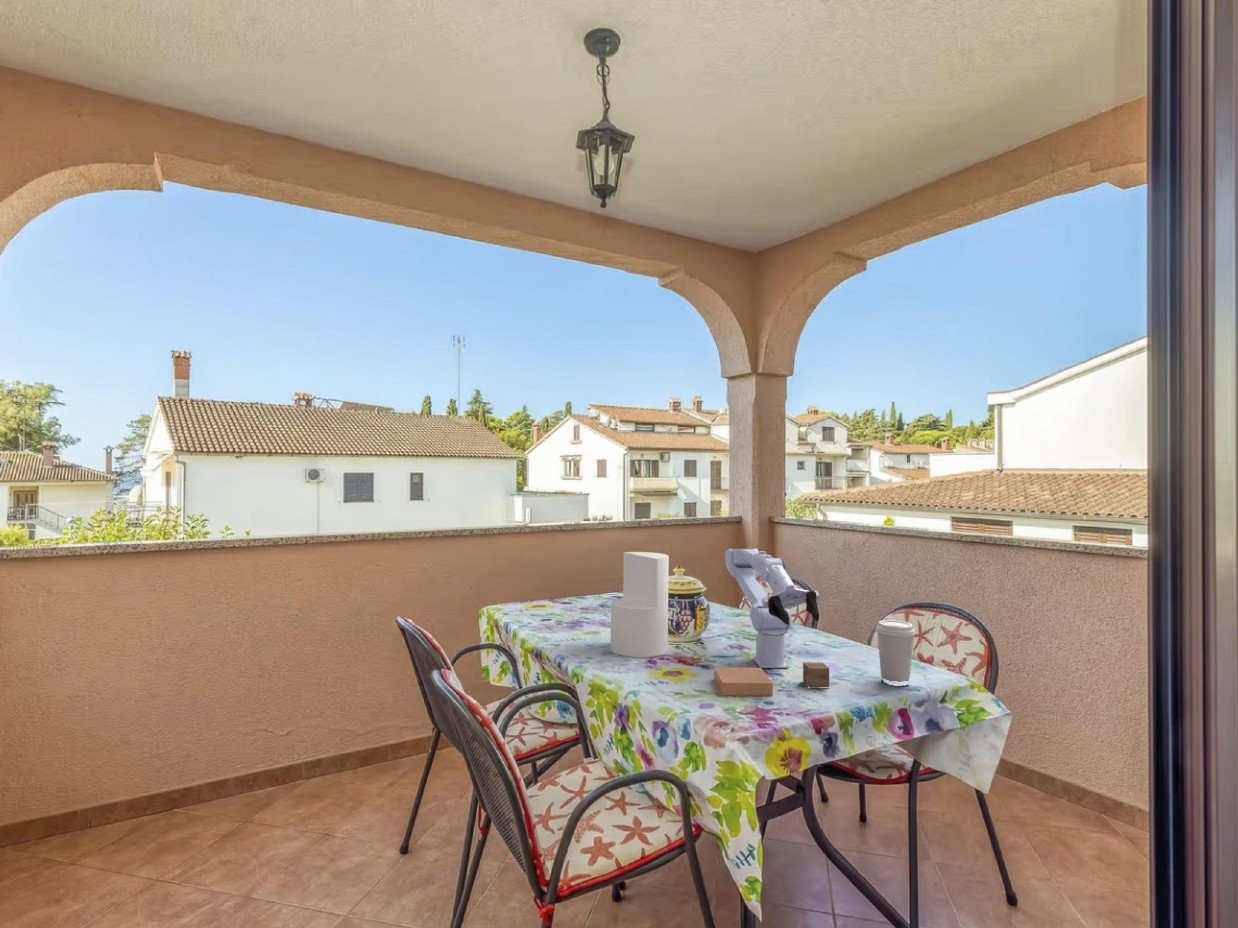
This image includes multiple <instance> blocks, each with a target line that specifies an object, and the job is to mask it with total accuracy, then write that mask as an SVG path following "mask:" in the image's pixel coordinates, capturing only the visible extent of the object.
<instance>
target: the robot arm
mask: <svg viewBox="0 0 1238 928" xmlns="http://www.w3.org/2000/svg"><path fill="white" fill-rule="evenodd" d="M724 560H725V562H724V563H725V567H726V569H727V570H728V572H729V574H730V575H731V577H733V578H734V579H735V580H736V582H737V584H738V586H739V588H740V589H741V591H742V592H743V594H744V595H745V597H746V598H747V600H748V601H749V603H750V605H751V608H750V611H749V613H750V614H749V617H750V621H751V624H752V627H753V629H754V630H755V632H757V634H756V637H755V640H756V641H755V642H756V643H755V645H756V646H755V656H752V659H753V660H754V662H755V663H756V664H757V666H758V668H761V669H789V668H790V666H789V665H788V664H787V662H786V661H785V654H786V653H785V650H786V649H785V646H786V645H785V644H786V643H785V641H786V640H785V638H786V637H785V634H786V635H787V634H788V631H790V628H791V626H792V623H793V622H792V621H793V619H792V614H791V612H790V610H789V609H793V608H796V607H798V606H800V605H803V604H805V605H806V607H805V610H806V611H807V612H808V613H809V614H810V616H812V618H813V620H814V621H816V622H818V621H819V620H820V613H819V609H818V606H817V603H819V601H820V594H819V593H818V591H817V590H807V589H802V588H797V587H796V585H795V584H794V583H793V581H792V579H791V577H790V575H789V574H788V573H787V566H786V563H785V562H786V561H785V559H783V558H782V557H776V558H775V557H772V555H771V554H767V552H766V551H765V550H759V549H758V548H756V547H755V548H732V549H731V548H727V550H726V551H725V556H724ZM758 577H759V578H760V580H761V581H762V580H763V581H764V583H767V584H768V585H769V587H770V588H771V590H772V593H773V594H770V595H767V593H766V592H765V590H764V589H763V588H762V586H761V585H760V583H759V582H758V580H757V578H758Z"/></svg>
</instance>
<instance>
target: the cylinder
mask: <svg viewBox="0 0 1238 928" xmlns="http://www.w3.org/2000/svg"><path fill="white" fill-rule="evenodd" d="M669 557H670V556H669V555H668V554H665V553H660V552H650V551H648V552H647V551H625V552H623V568H622V569H623V577H622V578H623V579H622V581H623V583H622V584H623V587H622V590H623V591H622V594H623V595H622V597H621V598H615V599H613V600H611V601H610V647H609V649H610V651H611V652H613V653H614V654H616V655H620V656H623V657H630V658H631V657H632V658H650V657H651V658H652V657H658V656H660V655H661V656H662V655H664V654H666V653H668V651H669V570H670V569H669V565H670V564H669V563H670V562H669V561H670V560H669V559H670V558H669Z"/></svg>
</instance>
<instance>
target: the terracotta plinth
mask: <svg viewBox="0 0 1238 928" xmlns="http://www.w3.org/2000/svg"><path fill="white" fill-rule="evenodd" d="M713 668H714V669H713V671H714V672H713V676H714V677H713V679H714V682H715V684H716V685H717V688H718V690H719V692H720V694H721V696H732V697H733V696H748V697H749V696H752V697H753V696H755V697H759V696H761V697H763V696H765V697H767V696H770V697H772V696H773V691H774V689H773V687H774V686H773V682H772V680H771V679H770V677H768V675H767V674H766V673H765V671H764V670H763V668H760V667H717V666H716V667H713Z"/></svg>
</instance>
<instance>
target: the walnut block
mask: <svg viewBox="0 0 1238 928" xmlns="http://www.w3.org/2000/svg"><path fill="white" fill-rule="evenodd" d="M803 681H804V682H805V683H806V684H807V685H808V686H809V687H829V688H830V667H828V666H827V664H825V663H824V662H822V661H821V662H819V661H818V662H813V661H810V662H808V661H806V662H805V661H804V662H802V682H803ZM804 682H803V683H804ZM805 683H804V684H805ZM806 684H805V685H806ZM807 685H806V686H807Z"/></svg>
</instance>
